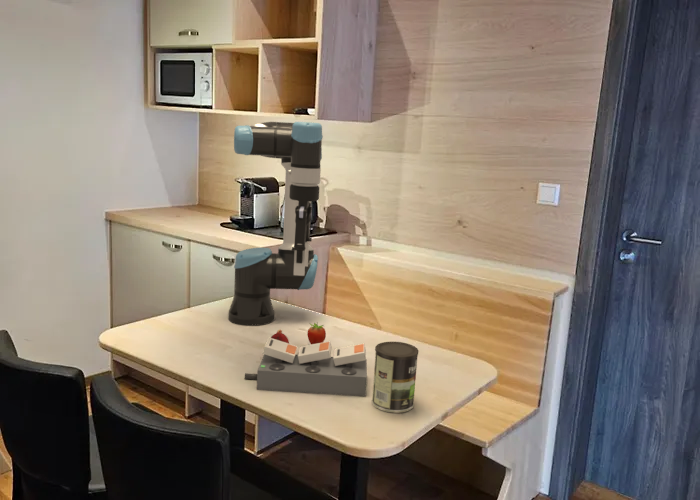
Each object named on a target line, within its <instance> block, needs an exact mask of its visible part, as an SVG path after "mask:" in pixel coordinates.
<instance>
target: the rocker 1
mask: <svg viewBox="0 0 700 500" xmlns="http://www.w3.org/2000/svg"><path fill="white" fill-rule="evenodd" d="M298 348H299V347H298V346H297V345H295V344H291V343H290V342H289V343H286V342H282V341H279V340H276V339H273V338H271V336H268V338H267V340H266V343H265V345H264V347H263V351H262V355H264V354H265V355H268V356H271V357H274V358H278V359H281V360H284V361H287V362H290V363H293V360H294V357H295V355H297V354H296V353H297V349H298Z"/></svg>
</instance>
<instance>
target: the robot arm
mask: <svg viewBox="0 0 700 500" xmlns="http://www.w3.org/2000/svg"><path fill="white" fill-rule="evenodd" d="M233 134H234V135H233V151H234V153H235V154H237V155H244V156H260V157H265V158H269V159H270V158H272V159H281V162H280V164H281V166H282V167H283V168H284V169H285V183H284V185H285V186H284V205H283V206H284V207H283V208H284V209H283V210H284V212H283V238H282V241H283V242H282V243H281V245H279V247H278V249H277V251H278V252H277V253H276V252H275V253H274V252H273V251H272V249H271V248H269V247H252V248H245V249H243V250H240V251H238V252H237V254H236V255H235V257H234V258H235V260H234V267H233V268H234V291H233V293H234V295H233V297H232V301H231V303H230V307H229V309H228V312H227V313H228V314H227V316H228V317H227V318H228V320H229V321H230V322H231V323H233V324H236V325H241V326H262V325H267V324H270V323H272V322H274V321H275V317H276V316H275V315H276V314H275V313H276V312H275V309H274V305H273V303H272V299H271V290H274V289H275V290H297V291H300V290H310V289H311V288H312V287H313V286H314V284H315V282H316V281H315V279H316V276H317V271H318V260H319V255H317V254H316V253H315V252H314V251H315V249H314V248H313V247H312V245H310V242H312V240H313V239H312V237H311V232H310V231H311V218H312V210H313V206H312V205H311V204H312V202H317V201H319V198H320V185H319V184H320V183H321V171H322V169H321V161H322V157H323V154H322V153H323V152H322V150H323V149H322V147H323V146H322V142H323V139H324V138H323V137H324V136H323V126H322V124H321V123H319V122H313V121H311V122H310V121H309V122H308V121H307V122H306V121H295V122H286V121H285V122H284V121H283V122H282V121H279V122H278V121H266V122H264V121H263V122H259V123H254V124H251V125H248V124H246V125H237V126H235V127H234V133H233Z"/></svg>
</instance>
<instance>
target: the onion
mask: <svg viewBox="0 0 700 500" xmlns="http://www.w3.org/2000/svg"><path fill="white" fill-rule="evenodd" d="M270 338H273V339H276V340H279V341H282V342H286V343H289V344H290V340H289V338H288V337H287V335H286V334H285V333H283V330H281V329H278V330H277V331H276V333H274V334H273V335H271V336H270Z"/></svg>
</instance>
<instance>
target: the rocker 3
mask: <svg viewBox="0 0 700 500" xmlns="http://www.w3.org/2000/svg"><path fill="white" fill-rule="evenodd" d="M333 357H334V358H333V359H334V364H335V366H337V365H343V364H348V363H353V362H359V361H364V360H366V359H367V349H366V345H365V343H364V342H363V343H362V342H361V343H359V344H358V343H357V344H351V345H347V346H341V347H336V348H334V350H333Z"/></svg>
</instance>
